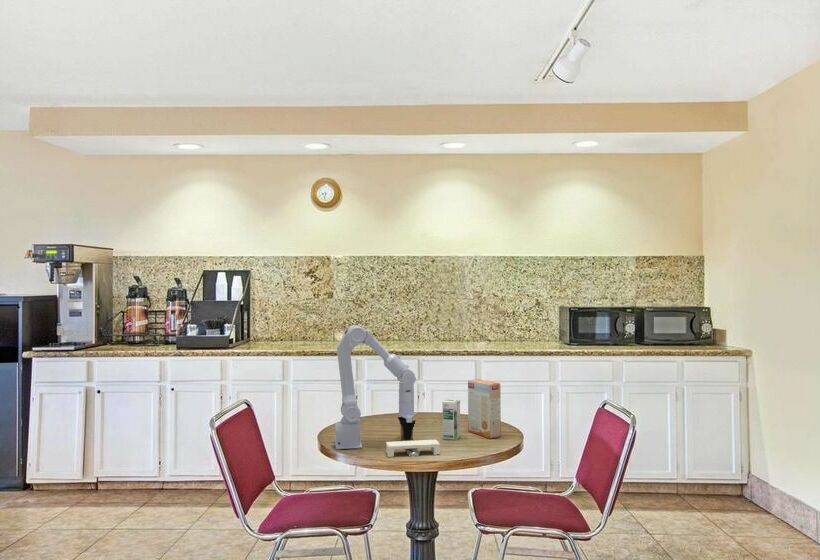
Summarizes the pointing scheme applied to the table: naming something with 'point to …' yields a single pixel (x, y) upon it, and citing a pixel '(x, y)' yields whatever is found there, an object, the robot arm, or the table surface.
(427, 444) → the shelf
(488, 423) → the cracker box
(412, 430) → the brown wooden mallet
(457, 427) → the syrup box
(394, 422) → the table surface
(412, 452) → the steel disc
